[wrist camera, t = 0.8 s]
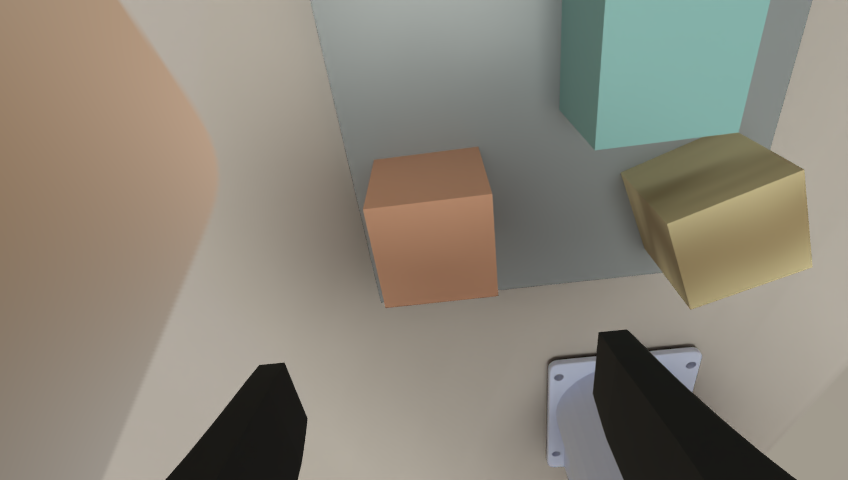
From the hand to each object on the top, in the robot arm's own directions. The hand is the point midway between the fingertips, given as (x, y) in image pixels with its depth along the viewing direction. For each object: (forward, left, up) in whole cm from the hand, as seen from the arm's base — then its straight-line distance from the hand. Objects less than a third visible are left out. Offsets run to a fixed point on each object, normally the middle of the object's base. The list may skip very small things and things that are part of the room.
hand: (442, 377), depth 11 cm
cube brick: (0, 0, -9) cm, 9 cm away
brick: (-1, -10, -9) cm, 14 cm away
